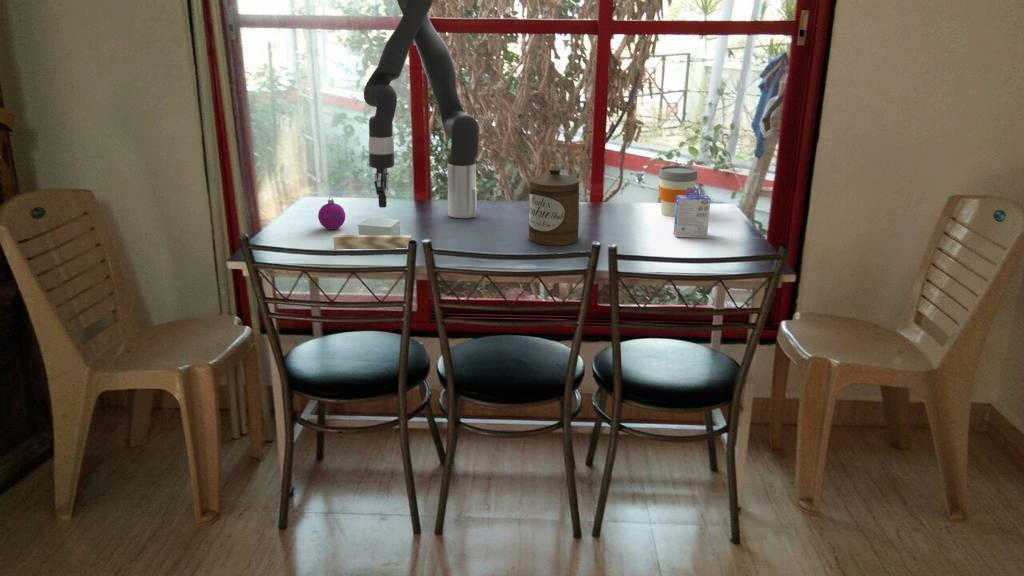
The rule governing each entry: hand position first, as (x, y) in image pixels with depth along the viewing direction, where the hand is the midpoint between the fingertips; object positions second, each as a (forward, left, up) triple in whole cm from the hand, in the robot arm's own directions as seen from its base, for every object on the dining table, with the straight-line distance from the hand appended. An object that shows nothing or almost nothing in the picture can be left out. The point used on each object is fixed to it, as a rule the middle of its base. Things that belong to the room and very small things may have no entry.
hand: (382, 206), depth 258 cm
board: (-1, +23, -7) cm, 24 cm away
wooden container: (-53, +10, -7) cm, 54 cm away
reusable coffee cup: (-95, -21, -7) cm, 97 cm away
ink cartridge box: (-95, +5, -7) cm, 95 cm away
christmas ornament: (+15, +2, -7) cm, 17 cm away
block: (-1, +11, -7) cm, 13 cm away
